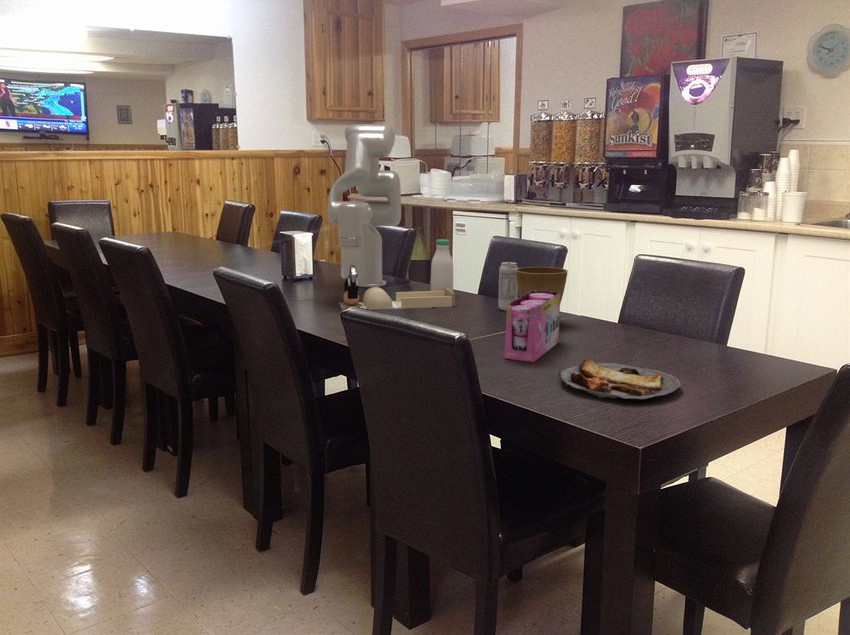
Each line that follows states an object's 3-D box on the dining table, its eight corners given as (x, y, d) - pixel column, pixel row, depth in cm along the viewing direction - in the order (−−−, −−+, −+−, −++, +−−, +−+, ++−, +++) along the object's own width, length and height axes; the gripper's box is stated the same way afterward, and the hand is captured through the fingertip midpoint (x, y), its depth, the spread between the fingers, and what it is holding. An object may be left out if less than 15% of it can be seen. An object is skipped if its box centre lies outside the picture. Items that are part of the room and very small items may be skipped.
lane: (339, 311, 253) (338, 287, 251) (446, 308, 260) (447, 284, 259) (342, 318, 242) (342, 293, 241) (454, 314, 250) (455, 290, 248)
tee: (339, 304, 250) (339, 300, 250) (360, 303, 252) (360, 300, 252) (341, 308, 244) (341, 304, 244) (363, 307, 245) (363, 304, 245)
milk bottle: (456, 298, 263) (457, 240, 259) (435, 300, 260) (436, 241, 256) (447, 295, 270) (448, 238, 266) (427, 296, 267) (427, 238, 263)
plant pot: (573, 322, 228) (576, 268, 224) (551, 331, 216) (554, 275, 212) (528, 316, 236) (530, 264, 233) (505, 324, 224) (506, 270, 221)
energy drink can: (519, 308, 247) (521, 262, 244) (513, 312, 241) (515, 265, 238) (501, 307, 249) (503, 261, 246) (495, 310, 244) (496, 263, 241)
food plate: (541, 389, 163) (542, 373, 162) (583, 365, 182) (584, 351, 181) (658, 414, 149) (660, 397, 149) (691, 386, 168) (692, 371, 168)
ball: (342, 303, 250) (342, 288, 249) (358, 303, 251) (358, 288, 250) (344, 306, 245) (344, 291, 244) (360, 306, 246) (359, 290, 245)
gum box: (533, 364, 183) (535, 308, 180) (501, 360, 186) (503, 305, 183) (559, 342, 204) (561, 291, 201) (530, 339, 207) (532, 289, 204)
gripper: (336, 240, 251) (336, 292, 254) (341, 245, 234) (342, 301, 238) (358, 240, 252) (359, 291, 256) (365, 245, 236) (366, 300, 239)
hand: (351, 296), depth 247 cm, fingers open, 9 cm apart
